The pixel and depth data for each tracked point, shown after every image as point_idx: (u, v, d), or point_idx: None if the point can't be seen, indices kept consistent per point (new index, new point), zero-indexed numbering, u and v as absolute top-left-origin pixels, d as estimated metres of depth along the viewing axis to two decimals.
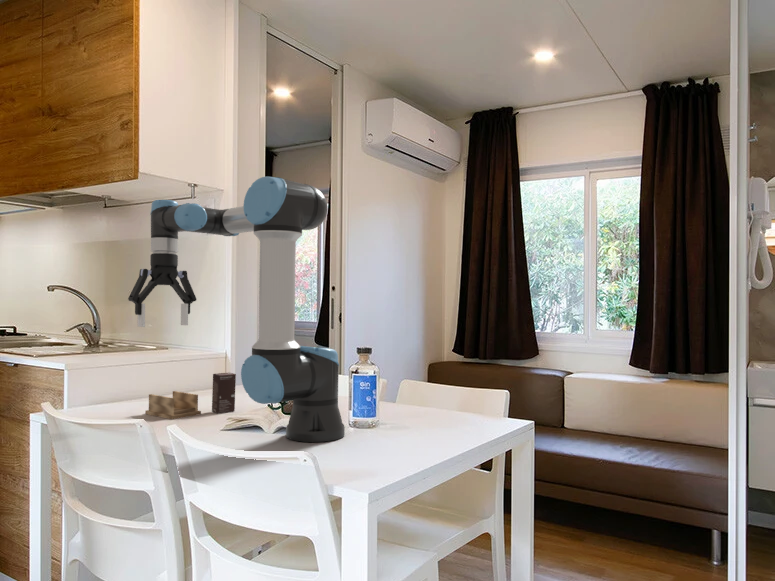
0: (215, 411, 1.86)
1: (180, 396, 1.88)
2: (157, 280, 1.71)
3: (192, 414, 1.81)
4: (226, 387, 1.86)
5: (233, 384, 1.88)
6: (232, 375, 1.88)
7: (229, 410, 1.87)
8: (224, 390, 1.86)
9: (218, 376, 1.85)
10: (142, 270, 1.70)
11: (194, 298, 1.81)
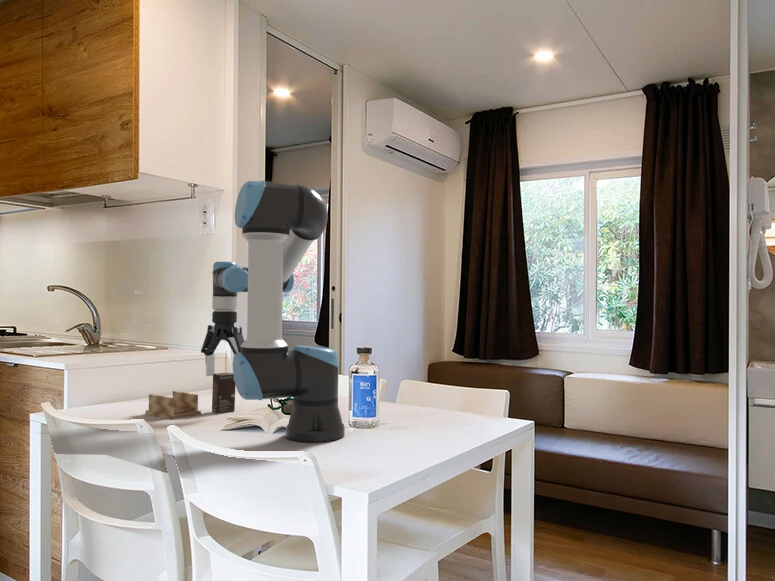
0: (215, 411, 1.86)
1: (180, 396, 1.88)
2: (213, 335, 1.89)
3: (192, 414, 1.81)
4: (226, 387, 1.86)
5: (233, 384, 1.88)
6: (232, 375, 1.88)
7: (229, 410, 1.87)
8: (224, 390, 1.86)
9: (218, 376, 1.85)
10: None
11: None
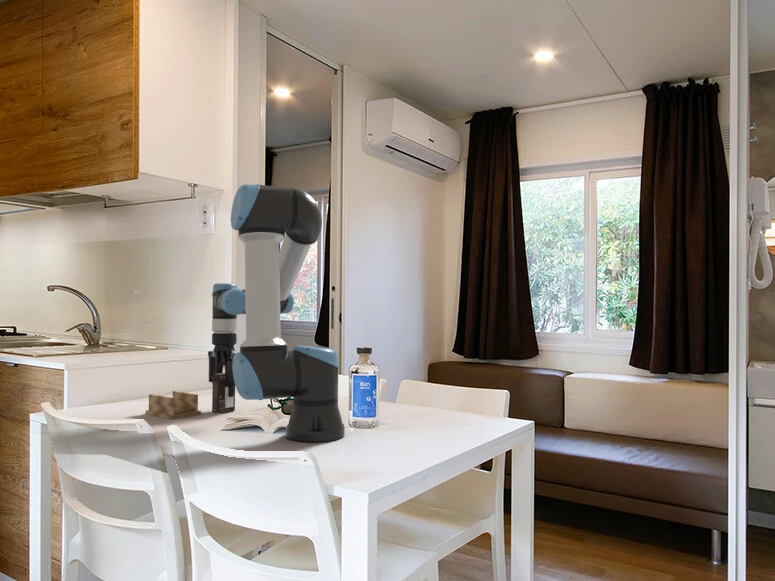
0: (215, 411, 1.86)
1: (180, 396, 1.88)
2: (215, 359, 1.88)
3: (192, 414, 1.81)
4: None
5: None
6: None
7: (229, 410, 1.87)
8: (224, 390, 1.86)
9: (217, 375, 1.85)
10: None
11: (231, 382, 1.84)
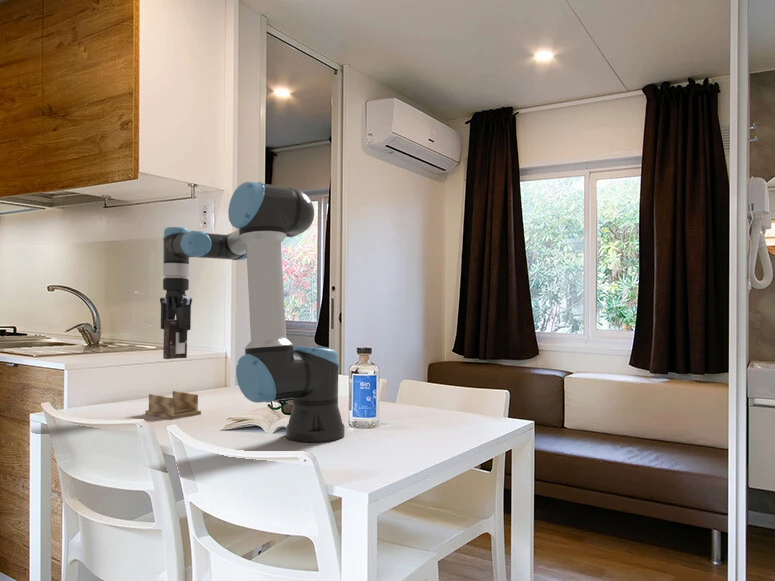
0: (166, 357, 1.82)
1: (180, 396, 1.88)
2: (166, 305, 1.84)
3: (192, 414, 1.81)
4: None
5: None
6: None
7: (181, 356, 1.84)
8: (175, 336, 1.82)
9: (168, 321, 1.82)
10: None
11: (182, 327, 1.80)
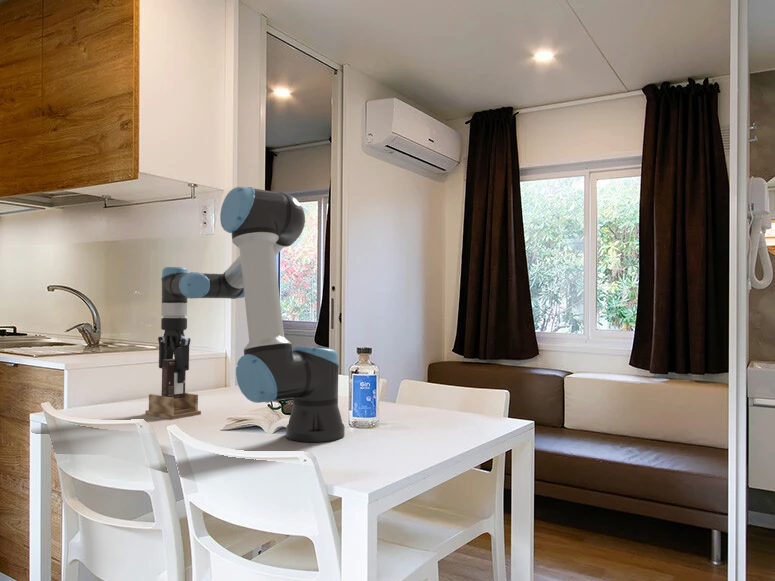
0: None
1: None
2: (165, 345, 1.84)
3: (192, 414, 1.81)
4: None
5: None
6: None
7: (179, 396, 1.83)
8: (173, 376, 1.82)
9: (166, 361, 1.81)
10: None
11: (180, 368, 1.80)
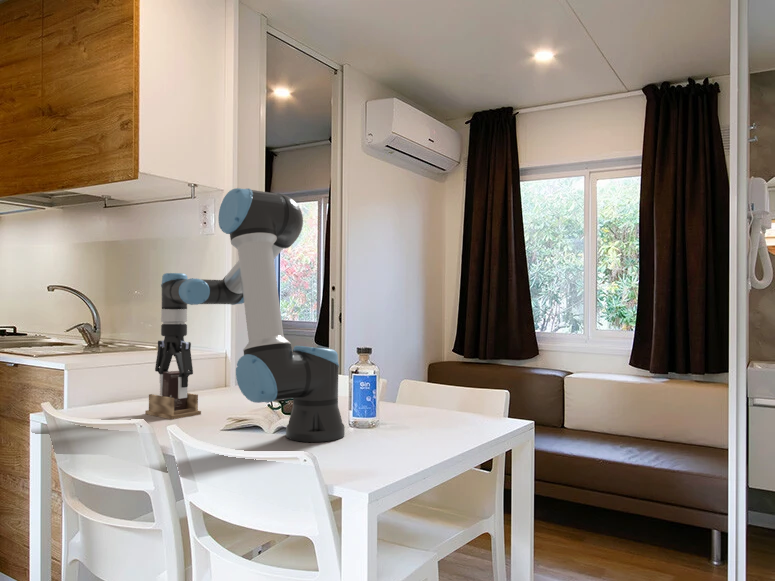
0: None
1: None
2: (164, 350, 1.84)
3: (192, 414, 1.81)
4: (176, 385, 1.82)
5: None
6: None
7: (180, 409, 1.83)
8: (174, 389, 1.82)
9: (168, 374, 1.81)
10: None
11: (184, 372, 1.79)
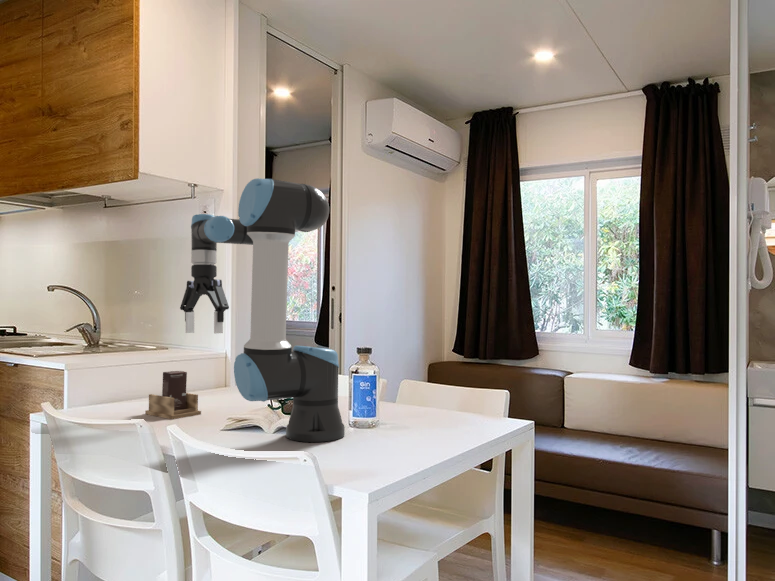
0: None
1: None
2: (193, 290, 1.86)
3: (192, 414, 1.81)
4: (176, 385, 1.82)
5: (184, 382, 1.84)
6: (183, 373, 1.84)
7: (180, 409, 1.83)
8: (174, 389, 1.82)
9: (168, 374, 1.81)
10: None
11: (220, 306, 1.79)
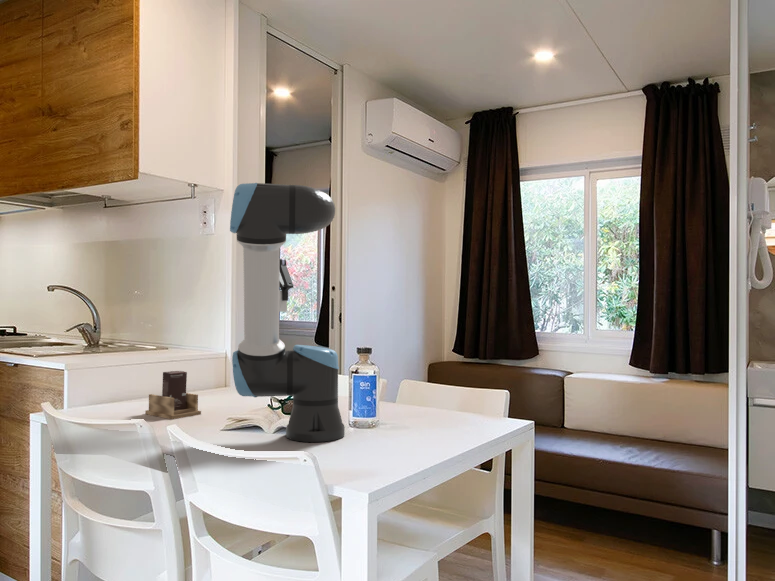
0: None
1: None
2: None
3: (192, 414, 1.81)
4: (176, 385, 1.82)
5: (184, 382, 1.84)
6: (183, 373, 1.84)
7: (180, 409, 1.83)
8: (174, 389, 1.82)
9: (168, 374, 1.81)
10: None
11: (286, 285, 1.82)
